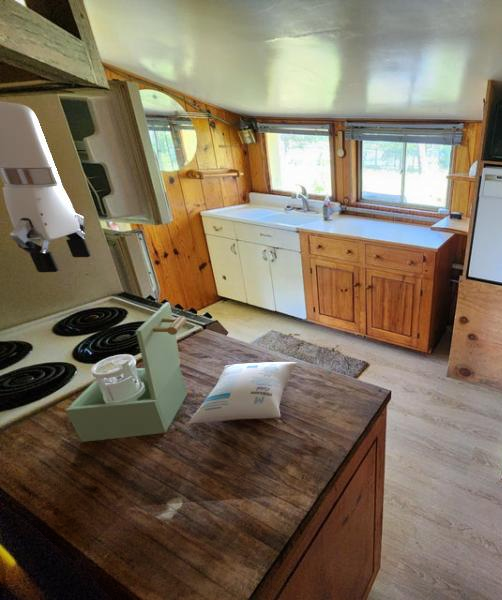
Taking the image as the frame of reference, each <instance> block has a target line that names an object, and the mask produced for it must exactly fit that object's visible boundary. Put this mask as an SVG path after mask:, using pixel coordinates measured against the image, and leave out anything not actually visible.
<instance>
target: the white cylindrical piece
mask: <svg viewBox="0 0 502 600" xmlns="http://www.w3.org/2000/svg"><path fill="white" fill-rule="evenodd" d="M110 363H112V365H117V366H119V367H116V368H113V369H110V370H107V371H108V372H107V373H103V372H99V370H100V369H101V368H102V367H104V366H106V365H108V364H110ZM136 364H137V360H136V358H135V356H134V355H132V354H129V353H124V354H121V353H120V354H115V355H113V356H112V355H111V356H108V357H106V358H103V359H101V360H99V361H98V362H96V363H95V364H94V365H93V366H91V374H92V376H93V377H94V378H95V380H97V382H98V384H99V387H100V389H101V391H102V393H103V399H104V401H105V403H106V404H109V403H120V402H131V401H138V398H139V397H140V396H142V395H143V394H144V392H145V390H146V388H145V385H144V383H143V382H141V379H140V376H139V374H138V371H137V369H138V368H137V365H136ZM118 377H121V379H118Z"/></svg>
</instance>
